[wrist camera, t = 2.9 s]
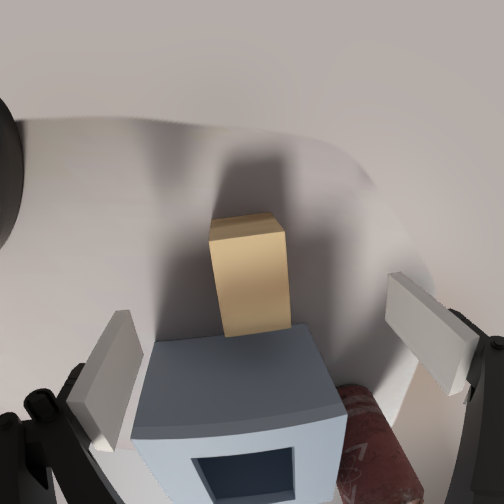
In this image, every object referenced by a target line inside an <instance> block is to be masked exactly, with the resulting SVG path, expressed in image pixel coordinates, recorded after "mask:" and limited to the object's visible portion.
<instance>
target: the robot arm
mask: <svg viewBox="0 0 504 504" xmlns="http://www.w3.org/2000/svg"><path fill="white" fill-rule="evenodd" d="M22 183H23V162H22V151H21V144H20V139H19V135H18V131H17V127H16V124H15V122H14V119H13V117H12V115H11V113H10V111H9V109H8V107H7V106H6V105H5V103H4V102H3V101H2V100H1V98H0V249H1V248H2V246H3V245H4V244H5V242H6V241H7V239H8V237H9V235H10V233H11V231H12V229H13V226H14V224H15V221H16V218H17V214H18V210H19V206H20V200H21V193H22ZM385 321H386V322H387V323H388V324H389V325H390V327H391V328H392V329H393V330H394V331H395V332H396V334H397V335H398V336H399V337H400V338H401V339H402V341H403V342H404V343H405V344H406V345H407V347H408V348H409V349H410V350H411V351H412V353H413V354H414V355H415V356H416V357H417V359H418V360H419V361H420V362H421V363H422V365H423V366H424V367H425V368H426V369H427V371H428V372H429V373H430V374H431V376H432V377H433V378H434V379H435V381H436V382H437V383H438V384H439V385H440V387H441V388H442V389H443V391H444V392H445V393H446V394H447V396H451V395H453V394H456V393H458V392H460V391H462V389H463V387H464V384H465V381H466V380H467V381H468V382H469V383H470V384H471V386H470V388H469V391H468V394H467V396H466V398H465V401H464V403H463V404H466V402H467V406H466V413H465V420H464V425H463V431H462V437H461V442H460V446H459V451H458V456H457V460H456V464H455V468H454V472H453V476H452V480H451V484H450V487H449V490H448V494H447V497H446V500H445V503H444V504H504V337H501V336H491V337H489V336H487V335H486V334H485V333H484V332H483V331H482V330H480V329H479V328H478V327H477V326H476V325H474V324H472V322H471V321H470V320H468V319H466V317H464V315H462V314H461V313H460V312H458V311H455V310H453V309H447V308H445V307H444V306H443V305H442V304H441V303H439V302H438V301H437V300H436V299H435V298H433V297H432V296H431V295H430V294H428V293H427V292H426V291H425V290H423V289H422V288H421V287H420V286H418V285H417V284H416V283H414V282H413V281H412V280H411V279H409V278H408V277H407V276H405V275H404V274H403V273H402V272H397V273H392V274H388V288H387V301H386V313H385ZM143 356H144V354H143V351H142V348H141V345H140V342H139V339H138V336H137V333H136V330H135V326H134V323H133V320H132V317H131V313H130V310H121V311H115V313H114V315H113V316H112V318H111V320H110V321H109V323H108V325H107V326H106V328H105V330H104V332H103V333H102V335H101V337H100V339H99V340H98V342H97V344H96V346H95V347H94V349H93V351H92V353H91V355H90V356H89V358H88V360H87V362H86V363H79V364H78V365H77V366H76V367H75V368H74V369H73V370H72V371H71V373H70V375H69V376H68V379H67V380H66V382H65V383H64V386H63V387H62V389H61V391H60V393H59V394H58V396H57V398H56V397H55V396H54V394H53V393H52V391H51V390H49V389H46V388H43V389H38V390H35V391H33V392H31V393H30V394H29V395H28V396H27V397H26V398H25V400H24V408H25V409H26V411H27V412H28V414H29V415H30V417H31V418H32V420H25V421H21V420H20V419H19V417H18V416H17V415H16V414H15V413H13V412H6V413H4V414H2V415H0V504H57V501H56V496H55V490H54V484H53V477H52V471H53V473H54V475H55V478H56V480H57V482H58V484H59V486H60V488H61V491H62V492H63V494H64V497H65V499H66V501H67V503H68V504H125V503H124V502H123V500H122V499H121V498H120V496H119V495H118V494H117V492H116V491H115V489H114V488H113V486H112V485H111V483H110V482H109V480H108V479H107V477H106V476H105V474H104V473H103V471H102V470H101V468H100V466H99V465H98V463H97V462H96V460H95V459H94V457H93V455H92V453H91V452H90V451H89V449H88V448H89V445H90V443H91V442H92V444H93V445H94V447H95V448H96V450H98V451H109V452H110V451H111V452H114V451H115V447H116V443H117V440H118V436H119V433H120V429H121V426H122V422H123V419H124V416H125V412H126V409H127V406H128V402H129V399H130V396H131V393H132V389H133V386H134V383H135V380H136V377H137V374H138V371H139V368H140V365H141V362H142V359H143ZM51 468H52V469H51Z"/></svg>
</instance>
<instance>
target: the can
mask: <svg viewBox="0 0 504 504" xmlns="http://www.w3.org/2000/svg"><path fill="white" fill-rule="evenodd" d="M336 389H337V392H338V394H339V396H340V398H341V400H342V403H343V405H344V407H345V409H346V411H347V414H348V416H347V423H346V430H345V436H344V442H343V448H342V454H341V459H340V465H339V470H338V475H337V480H336V484H337V487H338V490H339V493H340V496H341V498H342V502H343V504H423V503H424V499H423V495H424V494H423V493H424V489H423V487H422V485H421V483H420V481H419V480H418V477H417V475H416V474H415V472H414V470H413V468H412V466H411V464H410V462H409V460H408V459H407V457H406V455H405V453H404V451H403V449H402V447H401V446H400V444H399V442H398V440H397V438H396V437H395V435H394V433H393V431H392V429H391V427H390V426H389V424H388V422H387V420H386V418H385V417H384V415H383V413H382V411H381V409H380V408H379V406H378V404H377V402H376V400H375V399H374V397H373V395H372V393H371V392H370V391H369V390H368V389H367V388H365V387H362V386H359V385H345V386H340V387H338V388H336Z"/></svg>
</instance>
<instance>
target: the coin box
mask: <svg viewBox="0 0 504 504" xmlns="http://www.w3.org/2000/svg"><path fill="white" fill-rule="evenodd" d="M347 416H348V414H347V411H346V409H345V407H344V405H343V403H342V400H341V398H340V396H339V394H338V392H337V389H336V387H335V385H334V383H333V381H332V378H331V376H330V374H329V372H328V370H327V367H326V365H325V363H324V361H323V359H322V357H321V354H320V352H319V350H318V348H317V346H316V344H315V342H314V339H313V337H312V335H311V333H310V331H309V329H308V327H307V324H306V323H300V324H294V325H291V328H288V329H281V330H275V331H269V332H262V333H255V334H248V335H241V336H233V337H225V335H218V336H209V337H201V338H192V339H182V340H172V341H161V342H155V343H154V347H153V350H152V354H151V357H150V361H149V365H148V368H147V372H146V376H145V380H144V384H143V388H142V392H141V395H140V399H139V404H138V408H137V412H136V416H135V420H134V424H133V429H132V433H131V438H130V440H131V442H132V443H133V445H134V447H135V448H136V450H137V452H138V453H139V455H140V456H141V458H142V459H143V461H144V462H145V464H146V466H147V467H148V469H149V470H150V471H151V473H152V475H153V476H154V477H155V479H156V480H157V482H158V483H159V484H160V486H161V487H162V489H163V490H164V492H165V493H166V494H167V496H168V497H169V498H170V500H171V501H172V502H173V503H174V504H319V503H324V502H328V501H332V498H333V494H334V489H335V484H336V480H337V475H338V470H339V465H340V459H341V454H342V448H343V442H344V436H345V430H346V423H347Z"/></svg>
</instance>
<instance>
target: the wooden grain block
mask: <svg viewBox="0 0 504 504" xmlns="http://www.w3.org/2000/svg"><path fill="white" fill-rule="evenodd" d="M209 247H210V253H211V260H212V266H213V272H214V278H215V284H216V290H217V295H218V301H219V307H220V312H221V318H222V324H223V329H224V334H225V337H233V336H241V335H248V334H255V333H262V332H269V331H275V330H281V329H288V328H291V312H290V296H289V281H288V267H287V254H286V241H285V231H284V230H283V228H282V227H281V226H280V224H279V223H278V221H277V220H276V219H275V217H274V216H273V215H272V213H271V212H267V213H259V214H251V215H244V216H236V217H228V218H221V219H214V220H211V226H210V234H209Z"/></svg>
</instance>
